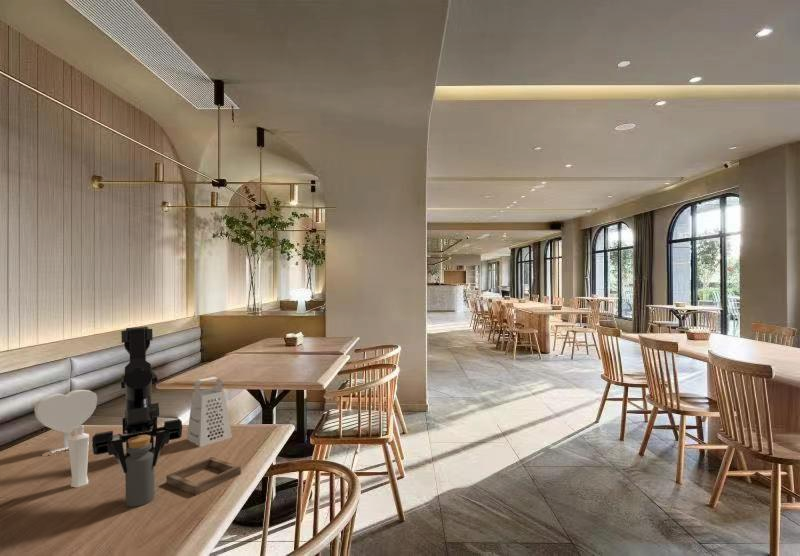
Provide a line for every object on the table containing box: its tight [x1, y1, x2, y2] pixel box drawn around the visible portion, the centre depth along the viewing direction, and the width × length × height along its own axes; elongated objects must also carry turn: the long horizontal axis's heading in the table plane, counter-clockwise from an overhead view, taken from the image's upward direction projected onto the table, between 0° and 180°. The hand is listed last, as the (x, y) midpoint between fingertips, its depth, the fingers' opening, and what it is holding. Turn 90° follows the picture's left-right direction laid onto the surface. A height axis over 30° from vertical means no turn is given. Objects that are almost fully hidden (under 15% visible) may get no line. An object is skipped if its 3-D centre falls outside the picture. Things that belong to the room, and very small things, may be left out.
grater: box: [186, 376, 233, 448], centre depth 140 cm, size 10×10×20 cm
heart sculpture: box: [33, 389, 98, 453], centre depth 134 cm, size 16×5×18 cm, turn 143°
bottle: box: [124, 435, 156, 508], centre depth 100 cm, size 6×6×15 cm
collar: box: [166, 456, 242, 496], centre depth 110 cm, size 13×13×2 cm
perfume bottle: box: [68, 424, 90, 489], centre depth 109 cm, size 5×4×15 cm
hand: (140, 468), depth 98 cm, fingers closed on bottle, 6 cm apart
